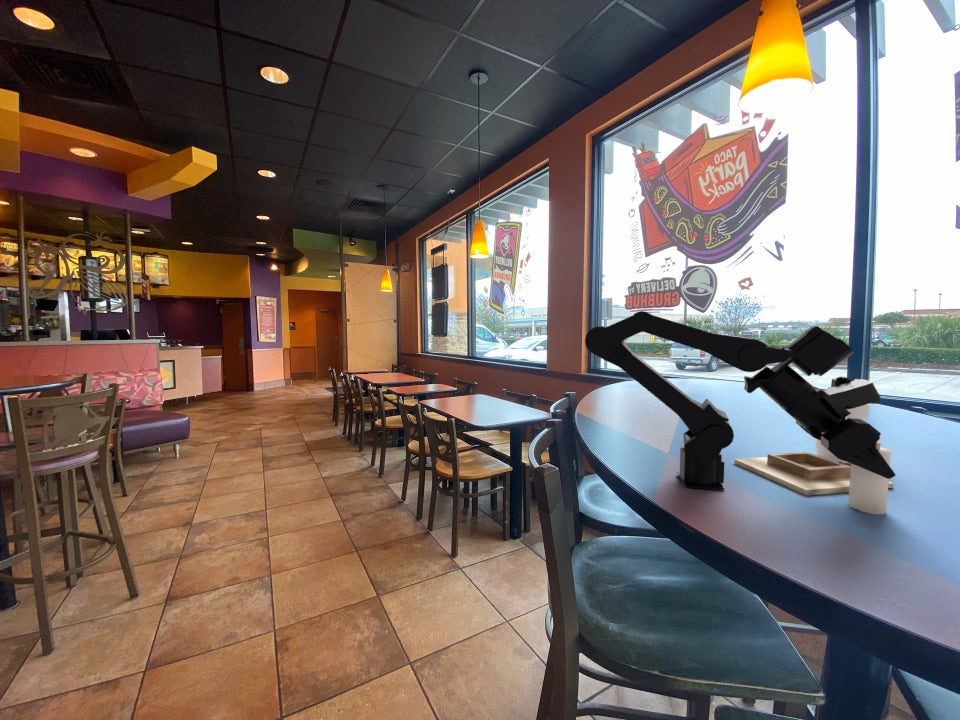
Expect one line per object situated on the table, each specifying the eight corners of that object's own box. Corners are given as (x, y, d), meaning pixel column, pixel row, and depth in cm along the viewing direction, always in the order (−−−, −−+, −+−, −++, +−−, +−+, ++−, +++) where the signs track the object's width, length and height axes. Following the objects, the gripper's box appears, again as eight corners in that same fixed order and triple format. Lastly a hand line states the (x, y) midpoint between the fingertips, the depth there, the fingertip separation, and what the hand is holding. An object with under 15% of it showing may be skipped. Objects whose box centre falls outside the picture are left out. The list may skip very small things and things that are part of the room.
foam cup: (845, 467, 80) (849, 406, 78) (798, 453, 88) (801, 398, 87) (876, 462, 82) (881, 403, 81) (827, 449, 91) (831, 395, 90)
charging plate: (806, 495, 67) (807, 479, 67) (734, 463, 83) (734, 450, 83) (893, 488, 69) (894, 472, 69) (807, 458, 85) (808, 445, 85)
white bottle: (860, 513, 61) (865, 445, 60) (841, 500, 65) (845, 437, 64) (894, 515, 60) (900, 447, 59) (872, 503, 64) (877, 438, 63)
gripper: (865, 368, 54) (973, 454, 50) (820, 357, 71) (899, 422, 67) (792, 417, 58) (886, 501, 54) (766, 397, 75) (837, 459, 71)
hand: (877, 466), depth 61 cm, fingers open, 9 cm apart
